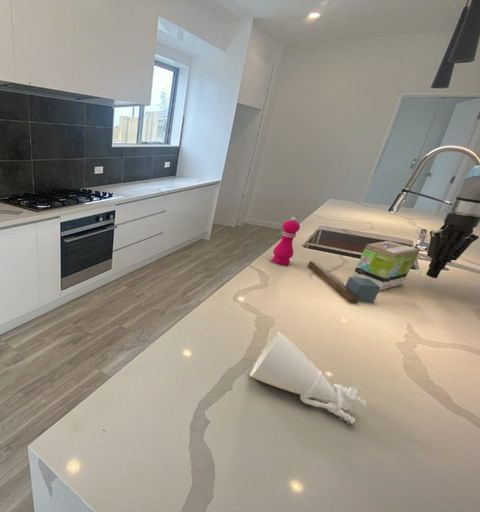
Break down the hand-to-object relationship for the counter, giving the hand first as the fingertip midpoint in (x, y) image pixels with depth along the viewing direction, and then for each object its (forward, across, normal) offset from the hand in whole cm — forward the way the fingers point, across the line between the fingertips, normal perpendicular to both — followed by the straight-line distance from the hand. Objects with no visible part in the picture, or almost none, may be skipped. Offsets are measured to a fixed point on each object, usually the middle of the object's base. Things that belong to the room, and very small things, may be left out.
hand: (431, 276), depth 109 cm
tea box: (+5, +16, 0) cm, 17 cm away
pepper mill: (+5, +46, -11) cm, 48 cm away
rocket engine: (+5, +70, +66) cm, 97 cm away
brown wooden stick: (+5, +35, +5) cm, 35 cm away
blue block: (+5, +31, +15) cm, 35 cm away
